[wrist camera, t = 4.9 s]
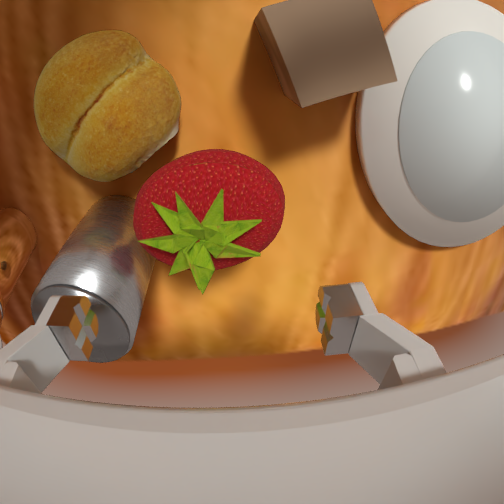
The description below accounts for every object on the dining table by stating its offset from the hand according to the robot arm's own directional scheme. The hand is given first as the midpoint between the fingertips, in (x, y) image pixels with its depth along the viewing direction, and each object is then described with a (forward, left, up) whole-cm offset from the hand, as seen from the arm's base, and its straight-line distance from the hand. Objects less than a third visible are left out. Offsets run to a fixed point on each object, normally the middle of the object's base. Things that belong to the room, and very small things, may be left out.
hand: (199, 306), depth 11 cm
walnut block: (-8, +6, -12) cm, 15 cm away
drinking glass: (+4, -7, -11) cm, 14 cm away
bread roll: (-7, -9, -12) cm, 16 cm away
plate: (-4, +19, -11) cm, 23 cm away
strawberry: (0, 0, -12) cm, 12 cm away
